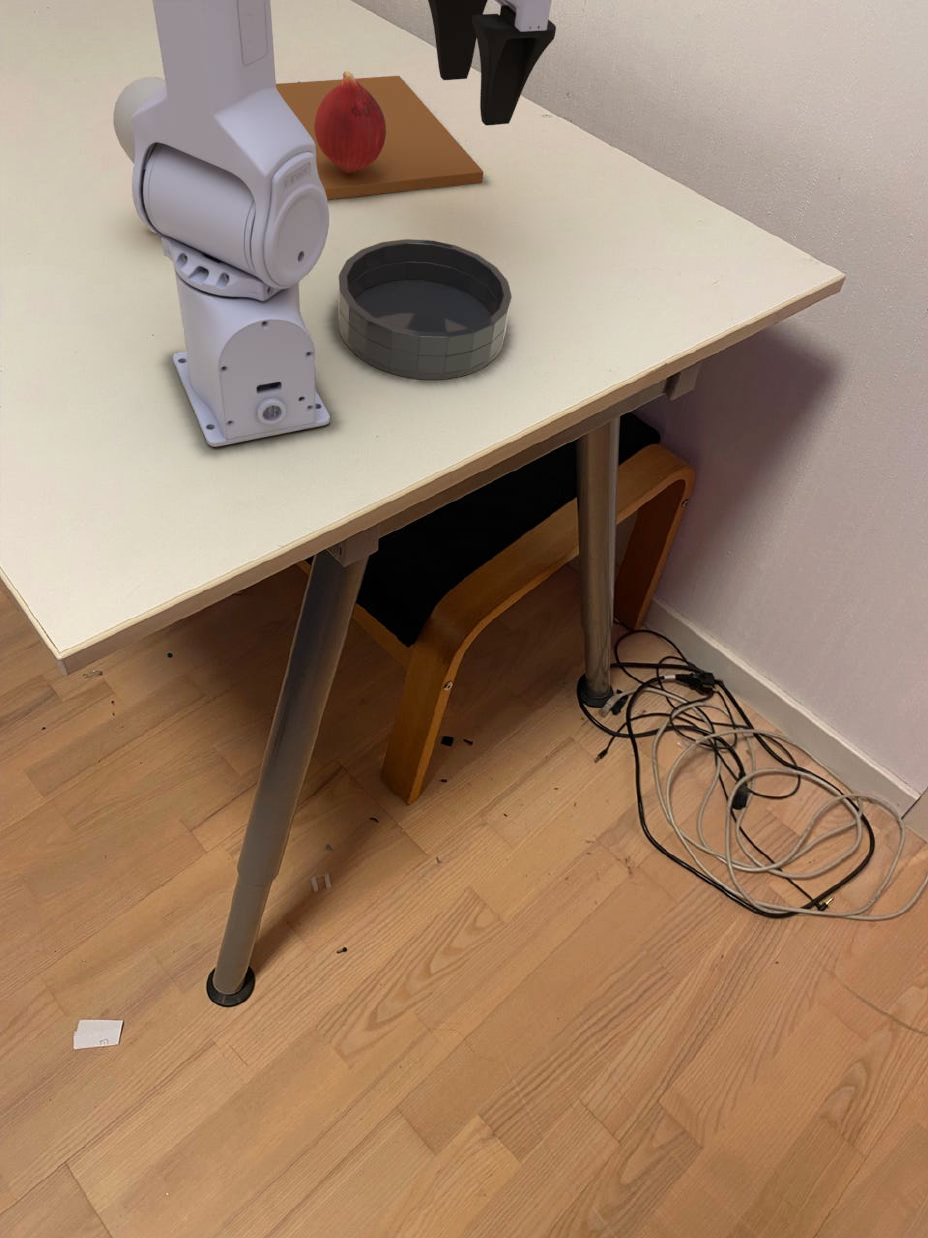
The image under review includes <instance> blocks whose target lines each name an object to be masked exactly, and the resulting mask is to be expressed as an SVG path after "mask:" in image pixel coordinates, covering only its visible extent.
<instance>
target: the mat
mask: <svg viewBox="0 0 928 1238" xmlns="http://www.w3.org/2000/svg"><path fill="white" fill-rule="evenodd" d="M342 80H343V78H342V79H327V80H313V81H311V80H310V81H296V82H295V81H294V82H283V83H282V82H280V83H276V88H277V90H278V92H279V93H280V95H281V96H282V98H283V99H284V101H285V102H286V103H287V105H288V106H289V107H290V109H291V110H292V111H293V113H294V114H295V115H296V117H297V118H298V119H299V121H300V122H301V123H302V125H303V126H304V128H305V129H306V130H307V132H308V133H309V135H310V136H311V137H312V139H313V141H314V143H315V145H316V164H317V171H318V175H319V179H320V181H321V183H322V185H323V187H324V189H325V193H326V196H327V201H328V200H338V199H346V198H355V197H364V196H373V195H374V196H375V195H382V194H391V193H398V192H406V191H407V192H408V191H416V190H417V191H418V190H426V189H427V190H428V189H435V188H442V187H443V188H445V187H453V186H461V185H470V184H478V183H479V184H480V183H483V179H484V170H483V169H482V168H481V167H480V166H479V164H478V163H477V162H476V161H475V160H474V159H473V158H472V157H471V155H470V154H469V153H468V152H467V151H466V150H465V149H464V148H463V146H462V145H461V144H460V142H459V141H457V140H456V138H455V137H454V136H453V135H452V134H451V133H450V131H449V130H448V129H447V128H446V127H445V126H444V125H443V124H442V123H441V121H440V120H439V119H438V118H437V117H436V116H435V114H434V113H432V111H431V110H430V109H429V107H428V106H426V104H425V103H424V102H423V101H422V100H421V99H420V97H419V96H418V95H417V94H416V93H415V92H414V91H413V89H411V87H410V86H409V85H408V84H407V83H406V81H405V80H404V79H403V78H402V77H401V76H400V75H388V76H371V77H358V78H356V77H355V80H356V81H357V82H359V83H360V85H361V86H362V87H364V88H365V89H366V90H367V91H368V92H369V93H370V94H371V95H372V96H373V98H374V99H375V100H376V102H377V103H378V105H379V106H380V108H381V110H382V112H383V115H384V119H385V123H386V136H385V142H384V145H383V148H382V150H381V152H380V154H379V156H378V157H377V159H376V160H375V161H373V162H372V163H371V164H370V165H368V166H367V167H365V168H363V169H361V170H360V171H358V172H355V173H353V174H351V175H347V174H344V173H343V172H342V171H341V170H340V169H339V168H338V167H337V166H336V165H335V164H334V163H333V162H332V161H331V160H330V159H329V158H328V157H327V156H326V155H325V154H324V153H323V152H322V150H321V148H320V147H319V145H318V142H317V139H316V136H315V129H314V123H315V117H316V113H317V110H318V108H319V106H320V104H321V102H322V100H323V98H324V97H325V96H326V95H327V94H328V93H329V92H330V91H331V90H332V89H334V88H335V87H336V86H338V85H340V84H341V83H342Z"/></svg>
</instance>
